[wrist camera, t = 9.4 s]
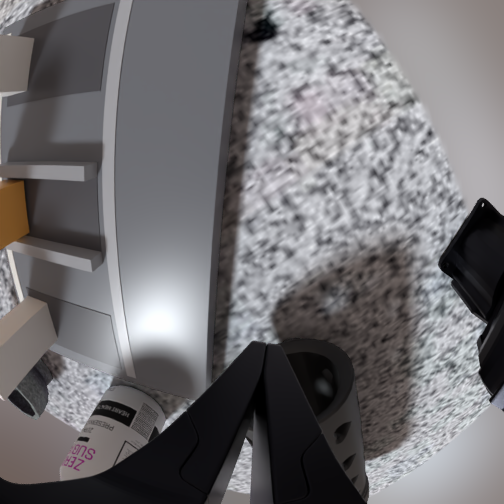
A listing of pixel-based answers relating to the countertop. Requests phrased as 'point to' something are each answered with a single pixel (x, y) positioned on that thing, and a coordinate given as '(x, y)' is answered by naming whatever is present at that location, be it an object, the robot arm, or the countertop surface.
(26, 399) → the mortar and pestle
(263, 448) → the robot arm
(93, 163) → the slotted gray tray
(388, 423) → the countertop surface
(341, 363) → the muzzle brake
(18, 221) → the orange tall block
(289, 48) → the countertop surface
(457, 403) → the countertop surface
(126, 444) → the supplement can
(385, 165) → the countertop surface
